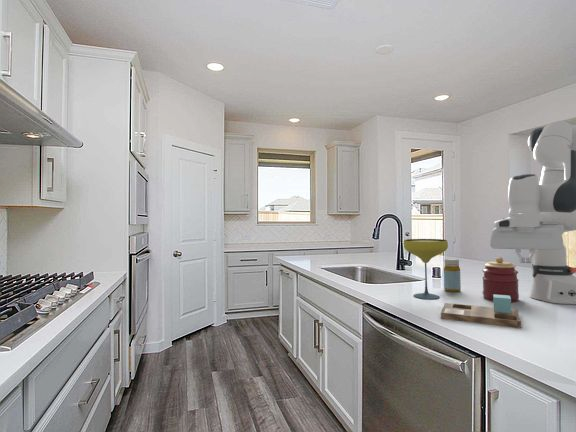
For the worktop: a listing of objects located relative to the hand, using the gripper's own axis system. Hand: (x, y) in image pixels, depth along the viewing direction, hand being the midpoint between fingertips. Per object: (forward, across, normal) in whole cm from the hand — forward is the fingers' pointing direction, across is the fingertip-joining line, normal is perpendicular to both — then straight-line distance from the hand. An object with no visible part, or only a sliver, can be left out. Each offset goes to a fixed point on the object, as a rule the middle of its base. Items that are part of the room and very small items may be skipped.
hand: (525, 262), depth 113 cm
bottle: (+19, +26, -38) cm, 50 cm away
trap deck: (+19, +14, +4) cm, 24 cm away
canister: (+19, +6, -29) cm, 35 cm away
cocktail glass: (+19, +34, -20) cm, 44 cm away
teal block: (+17, +7, 0) cm, 18 cm away
